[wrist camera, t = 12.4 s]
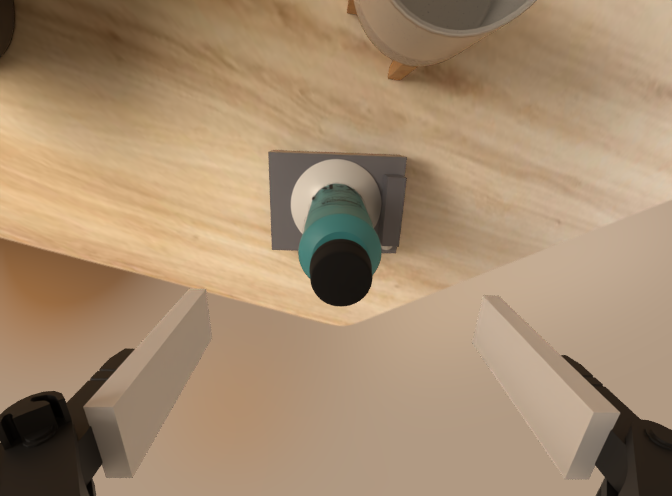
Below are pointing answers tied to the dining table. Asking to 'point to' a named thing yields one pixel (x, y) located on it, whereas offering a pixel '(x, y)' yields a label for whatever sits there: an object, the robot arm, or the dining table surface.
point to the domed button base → (328, 167)
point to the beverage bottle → (339, 246)
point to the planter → (430, 27)
